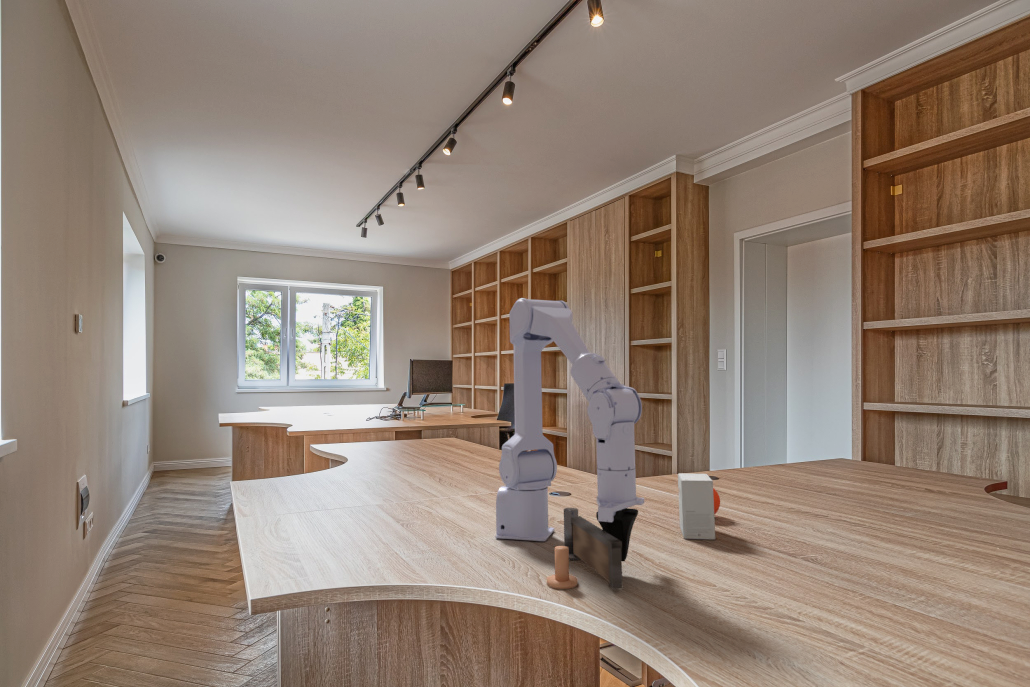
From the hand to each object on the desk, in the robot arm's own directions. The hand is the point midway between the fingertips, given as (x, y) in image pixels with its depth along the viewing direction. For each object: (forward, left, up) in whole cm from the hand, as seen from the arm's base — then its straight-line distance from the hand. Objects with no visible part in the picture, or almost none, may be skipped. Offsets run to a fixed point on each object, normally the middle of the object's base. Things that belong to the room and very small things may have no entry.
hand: (618, 559), depth 86 cm
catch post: (-7, -6, -2) cm, 10 cm away
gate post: (-8, +7, -2) cm, 11 cm away
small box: (+12, +25, -2) cm, 27 cm away
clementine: (+12, +38, -2) cm, 40 cm away
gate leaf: (-3, -1, -1) cm, 4 cm away
